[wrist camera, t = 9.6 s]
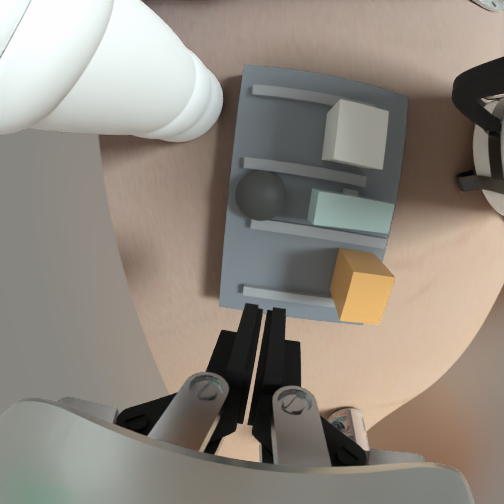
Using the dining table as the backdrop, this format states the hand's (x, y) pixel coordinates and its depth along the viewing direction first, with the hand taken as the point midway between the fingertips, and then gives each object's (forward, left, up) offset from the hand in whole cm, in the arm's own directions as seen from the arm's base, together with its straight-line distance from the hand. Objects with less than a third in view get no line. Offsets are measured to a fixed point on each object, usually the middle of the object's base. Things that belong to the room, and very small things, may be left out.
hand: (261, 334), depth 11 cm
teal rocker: (-5, -4, -9) cm, 11 cm away
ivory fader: (-4, -9, -11) cm, 15 cm away
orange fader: (-7, +1, -11) cm, 13 cm away
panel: (-3, -4, -13) cm, 14 cm away
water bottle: (+9, -11, -14) cm, 20 cm away
